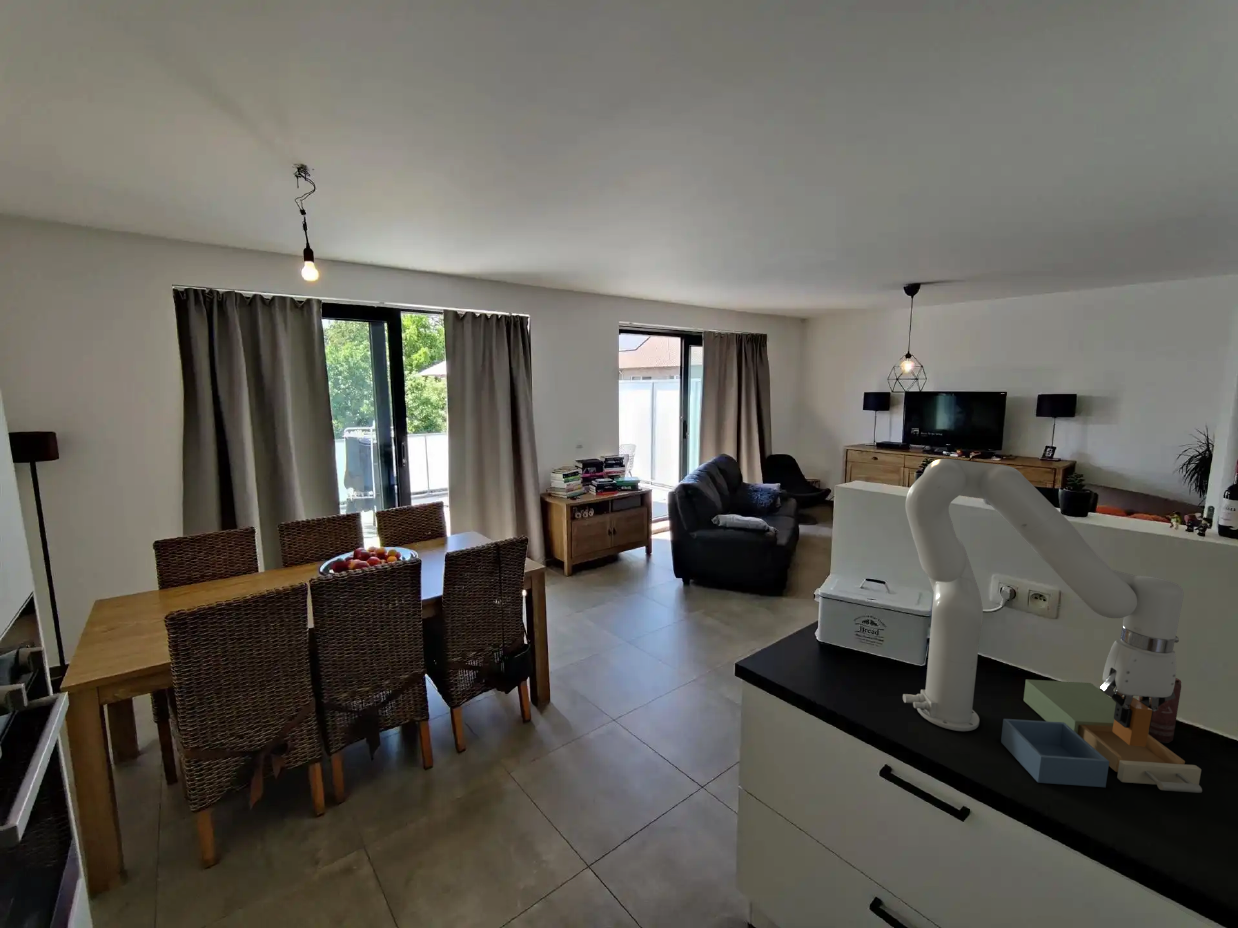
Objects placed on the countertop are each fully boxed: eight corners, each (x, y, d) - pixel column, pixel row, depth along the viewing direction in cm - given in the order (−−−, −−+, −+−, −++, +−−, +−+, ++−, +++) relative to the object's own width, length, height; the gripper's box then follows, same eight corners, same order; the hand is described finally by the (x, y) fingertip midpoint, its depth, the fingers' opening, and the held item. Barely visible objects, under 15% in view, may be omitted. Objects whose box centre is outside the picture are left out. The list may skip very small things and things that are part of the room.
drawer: (1221, 804, 98) (1224, 785, 98) (1140, 798, 100) (1143, 780, 99) (1130, 735, 118) (1133, 719, 117) (1064, 731, 119) (1066, 715, 119)
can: (1181, 745, 116) (1191, 685, 114) (1147, 742, 117) (1156, 682, 115) (1160, 728, 122) (1169, 670, 120) (1127, 725, 123) (1135, 667, 121)
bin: (1037, 782, 105) (1041, 756, 104) (1000, 741, 117) (1003, 718, 116) (1105, 787, 104) (1109, 761, 103) (1061, 745, 116) (1064, 722, 115)
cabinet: (1146, 749, 115) (1149, 725, 114) (1072, 744, 116) (1075, 720, 115) (1087, 704, 131) (1090, 682, 130) (1023, 700, 133) (1025, 679, 132)
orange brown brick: (1129, 745, 108) (1136, 708, 107) (1111, 731, 112) (1118, 695, 111) (1145, 746, 108) (1152, 710, 106) (1127, 732, 112) (1134, 697, 111)
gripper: (1174, 633, 109) (1158, 716, 112) (1087, 628, 111) (1074, 709, 114) (1210, 651, 102) (1192, 739, 105) (1117, 645, 104) (1101, 732, 106)
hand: (1131, 723), depth 109 cm, fingers closed on orange brown brick, 3 cm apart
